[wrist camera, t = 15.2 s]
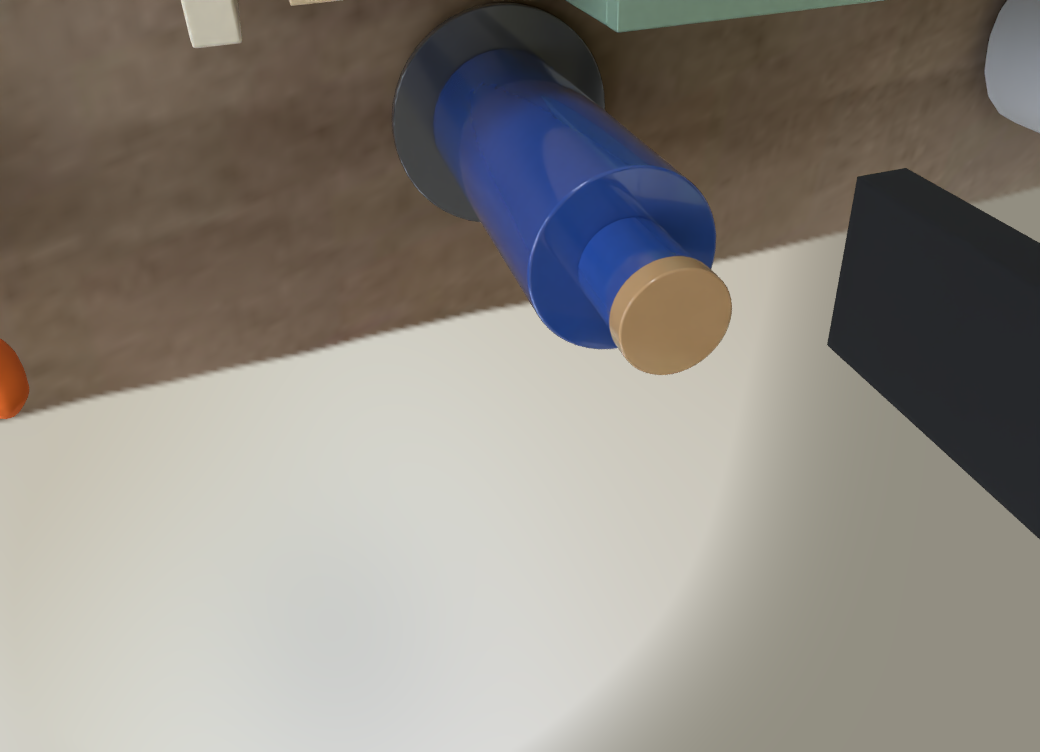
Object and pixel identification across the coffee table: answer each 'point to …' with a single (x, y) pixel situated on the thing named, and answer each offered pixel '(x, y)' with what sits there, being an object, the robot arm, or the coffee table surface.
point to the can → (1016, 63)
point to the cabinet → (690, 10)
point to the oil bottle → (584, 213)
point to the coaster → (449, 53)
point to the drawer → (218, 21)
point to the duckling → (11, 382)
